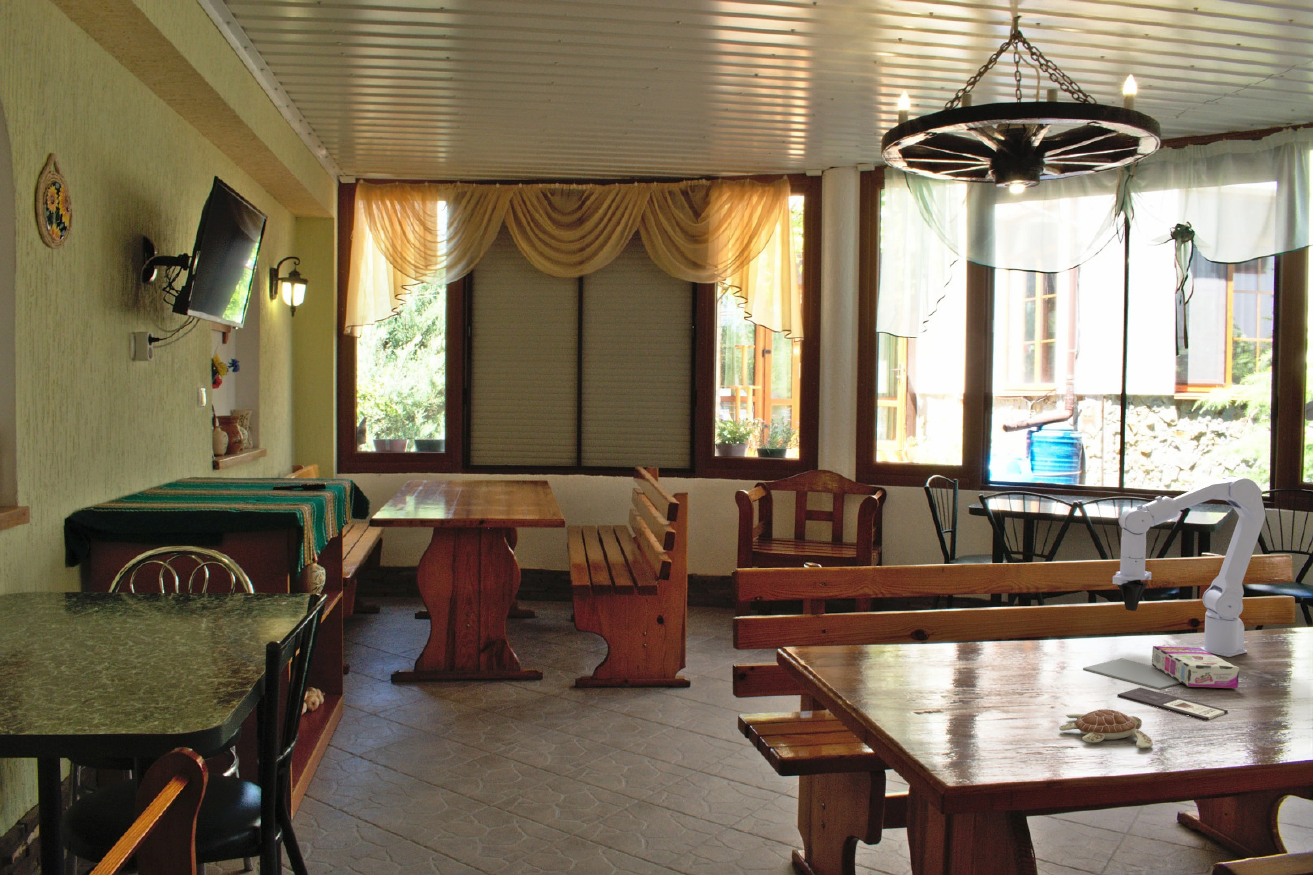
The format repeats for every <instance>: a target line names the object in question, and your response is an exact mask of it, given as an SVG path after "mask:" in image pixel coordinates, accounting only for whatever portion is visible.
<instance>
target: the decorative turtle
mask: <svg viewBox="0 0 1313 875" xmlns="http://www.w3.org/2000/svg"><path fill="white" fill-rule="evenodd" d="M1065 716H1066V718H1068V719H1075V720H1074V722H1071V723H1066V724H1062V725H1061V726H1059V727H1058V729H1059V731H1062V732H1063V731H1070V730H1079V731H1080V732H1081V734H1082V735H1084V736H1082V738H1081V739H1082V740H1083V742H1084V741H1085V742H1087V743H1100V742H1102V741H1103V740H1119V739H1124V738H1128V737H1131V736H1132V735H1133V736H1134V737H1135V738H1136V740H1137V741H1136V744H1135V745H1136V747H1137V748H1139V749H1145V748H1150V747H1152V746H1153V745H1154V743H1153V740H1152V738H1151V737H1150V736H1148V735H1147V734H1146V733H1144V732H1142V731H1141V730H1140V729H1141V727H1142V724H1143V723H1142V722H1143V721H1142V719H1141V718H1139V717H1137V716H1134V715H1130V716H1129V715H1128V714H1127V715H1126V714H1124V713H1122V712H1121V711H1118V710H1113V709H1108V708H1107V709H1096V710H1094V711H1093V710H1092V711H1089V712H1088V713H1085V714H1084V713H1074V714H1073V713H1072V714H1070V713H1069V714H1065Z"/></svg>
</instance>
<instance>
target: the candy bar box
mask: <svg viewBox="0 0 1313 875" xmlns="http://www.w3.org/2000/svg"><path fill="white" fill-rule="evenodd" d="M1151 666H1154V667H1156V668H1157V669H1159V670H1161V671H1163V672H1164V673H1166V674H1168V675H1170V676H1171V677H1173V678H1174V679H1176V680H1178V681H1179V682H1181V683H1180V684H1183V685H1184V686H1187V687H1190V688H1219V689H1220V688H1222V689H1238V688H1239V675H1240V667H1238V666H1236V665H1234V664H1233V663H1230V662H1228V661H1227V660H1225V659H1223V658H1221V657H1219V656H1218V655H1217V656H1216V654H1213V653H1209V652H1207V651H1205V650H1203V649H1201V648H1199V647H1189V646H1188V647H1187V646H1186V647H1185V646H1161V645H1160V646H1159V645H1152V655H1151Z"/></svg>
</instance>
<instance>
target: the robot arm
mask: <svg viewBox="0 0 1313 875" xmlns="http://www.w3.org/2000/svg"><path fill="white" fill-rule="evenodd" d="M1262 497H1263V491H1262V489H1261V488H1260V487H1259V486H1258V484H1257V483H1256V482H1255V481H1254V480H1253V479H1250V478H1244V477H1243V478H1242V477H1239V476H1235V475H1227V476H1224V477H1222V478H1217V479H1214V480H1212V481H1209V482H1207V483H1205V484H1203V485H1200V486H1198V487H1195V488H1194V489H1191V490H1189V491H1187V492H1185V493H1183V494H1180V495H1178V496H1176V497H1174V498H1172V497H1169V496H1163V497H1162V496H1160V495H1159V496H1156V497H1154V500H1153V501H1149V502H1147V503H1145V504H1143V505H1142V504H1137V505H1136V509H1135V508H1128V509H1126V510H1124V511H1122V514H1120V516H1119V517H1120V518H1118V520H1117V521H1118V524H1119V526H1120V527H1121V537H1120V538H1121V539H1120V559H1119V560H1120V561H1119V563H1120V564H1119V571H1115V575H1112V584H1113V585H1117V587H1118V589H1119V591H1120V592H1121V595H1122V596H1121V597H1122V599H1123V603H1124V607H1125V610H1126V611H1131V612H1135V611H1137V609H1138V606H1139V603H1140V599H1141V598H1142V597H1141V596H1142V595H1143V592H1144V591H1145V589H1146V588H1147V586H1148V583H1147V582H1143V581H1146V580H1147V581H1148V580H1149V581H1150V580H1152V572H1151V571H1147V570H1146V561H1147V560H1146V557H1147V556H1146V555H1147V554H1146V553H1147V552H1146V551H1147V548H1146V547H1147V532H1148V531H1149V529H1150V528H1153V527H1155V526H1158V525H1160V524H1163V523H1165V522H1168V521H1170V520H1173V519H1175V518H1177V517H1178V514H1179V513H1180V511H1182V510H1185V509H1187V508H1191V507H1193V506H1196V505H1199V504H1201V503H1204V502H1207V501H1211V500H1218V501H1219V500H1221V501H1226V503H1228V504H1229V505H1231V506H1232V509H1233V510H1234V511H1235V512H1236V514H1237V515H1238V518H1237V519H1238V520H1237V523H1236V525H1235V528H1234V531H1233V534H1232V536H1231V539H1230V543H1229V545H1228V548H1227V551H1226V553H1225V557H1224V558H1223V563H1222V565H1221V568H1220V570H1219V574H1218V575H1217V576H1216V577H1215V578H1214V579H1213V580H1212V581H1211V585H1210V586H1209V587H1208V588H1207V589H1206V590H1205V591H1204V592H1203V595H1202V604H1203V605H1204V607H1205V608H1206V612H1205V618H1204V641H1203V646H1199V647H1198V648H1201V649H1203V650H1205V651H1207V652H1209V653H1211V654H1213V655H1217V656H1222V657H1228V658H1231V657H1235V656H1238V655H1242V654H1245V653H1248V650H1247V649H1244V647H1245V646H1244V642H1245V641H1244V640H1245V625H1244V622H1243V621H1242V619H1241V618H1240V617H1239V616H1240V615H1241V614H1242V612H1243V610H1244V604H1243V597H1244V594H1245V591H1244V586H1243V581H1244V578H1245V575H1246V573H1247V571H1248V567H1249V565H1250V561H1251V558H1252V556H1253V553H1254V550H1255V548H1256V545H1257V542H1258V539H1259V536H1260V533H1261V530H1262V528H1263V524H1264V523H1265V520H1266V511H1265V506H1264V502H1263V498H1262Z"/></svg>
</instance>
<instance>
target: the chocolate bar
mask: <svg viewBox="0 0 1313 875" xmlns="http://www.w3.org/2000/svg"><path fill="white" fill-rule="evenodd" d="M1116 695H1117V698H1122V699H1125V700H1128V701H1133V702H1135V703H1138V704H1143V705H1146V706H1150V707H1153V706H1154V707H1153V708H1157V707H1158V708H1157V709H1160V708H1161V710H1164V711H1168V710H1170V711H1169V712H1171V711H1172V713H1175V712H1176V713H1175V714H1178V713H1179V714H1180V715H1182V716H1186V715H1189V716H1191V717H1190V718H1193V717H1194V718H1193V719H1197V720H1200V719H1202V720H1201V721H1204V720H1206V721H1209V720H1212V719H1214V717H1215V718H1217V716H1218V717H1220V716H1223V715H1226V714H1228V713H1229V711H1228V709H1223V708H1222V707H1221V708H1220V707H1217V706H1212V705H1210V704H1209V705H1208V704H1205V703H1201V702H1197V701H1195V700H1194V701H1193V700H1190V699H1185V698H1182V697H1179V696H1174V695H1171V694H1168V693H1164V692H1160V691H1156V690H1151V689H1148V688H1144V687H1137V688H1134V689H1131V690H1126V691H1124V692H1121V693H1117V694H1116ZM1179 714H1178V715H1179ZM1219 715H1220V716H1219ZM1189 716H1188V717H1189ZM1208 719H1209V720H1208Z"/></svg>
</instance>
